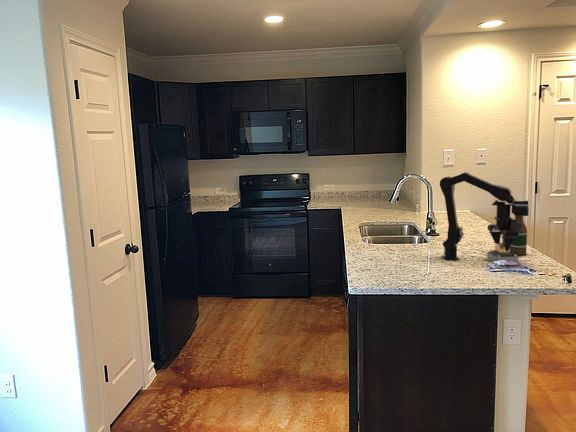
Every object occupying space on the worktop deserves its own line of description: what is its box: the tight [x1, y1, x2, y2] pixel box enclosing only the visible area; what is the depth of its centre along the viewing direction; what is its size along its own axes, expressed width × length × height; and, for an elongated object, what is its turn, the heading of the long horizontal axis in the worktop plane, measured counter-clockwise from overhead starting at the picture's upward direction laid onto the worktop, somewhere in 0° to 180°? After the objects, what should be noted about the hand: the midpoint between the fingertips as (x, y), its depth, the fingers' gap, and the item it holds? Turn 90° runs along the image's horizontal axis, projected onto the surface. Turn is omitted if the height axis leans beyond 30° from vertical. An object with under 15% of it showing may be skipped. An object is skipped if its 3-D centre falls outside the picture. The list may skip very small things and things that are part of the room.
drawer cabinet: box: [486, 249, 519, 264], centre depth 216 cm, size 11×9×5 cm
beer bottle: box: [510, 216, 528, 257], centre depth 229 cm, size 8×8×24 cm
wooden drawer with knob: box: [494, 240, 510, 254], centre depth 216 cm, size 5×5×9 cm
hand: (502, 248), depth 216 cm, fingers open, 9 cm apart
